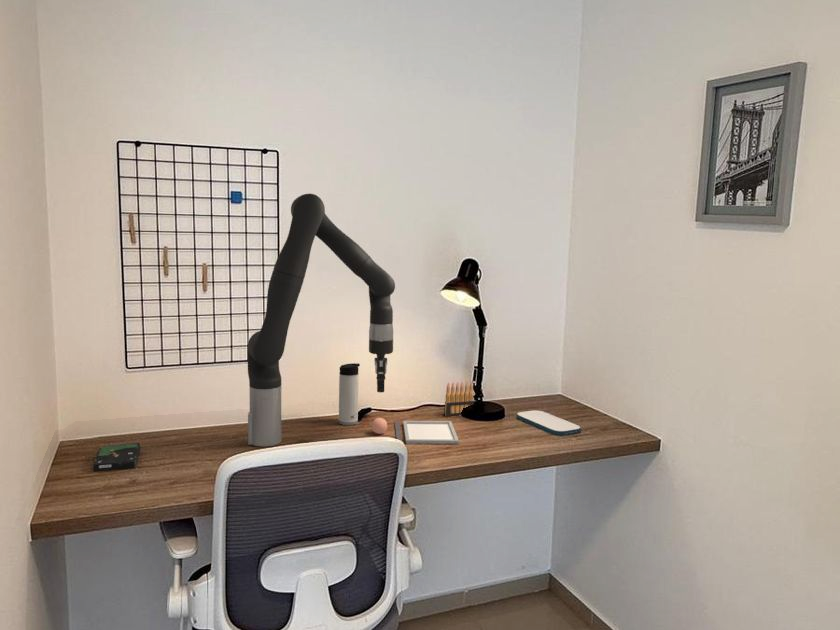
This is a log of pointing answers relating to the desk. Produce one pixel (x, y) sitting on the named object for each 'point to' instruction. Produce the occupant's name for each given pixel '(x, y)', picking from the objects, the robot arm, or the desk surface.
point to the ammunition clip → (458, 399)
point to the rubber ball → (379, 425)
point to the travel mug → (348, 394)
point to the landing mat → (427, 432)
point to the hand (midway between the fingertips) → (380, 388)
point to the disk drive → (117, 457)
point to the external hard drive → (548, 422)
